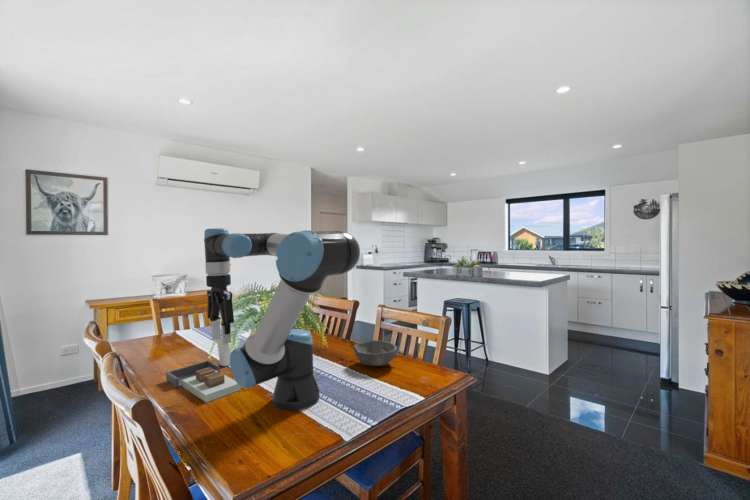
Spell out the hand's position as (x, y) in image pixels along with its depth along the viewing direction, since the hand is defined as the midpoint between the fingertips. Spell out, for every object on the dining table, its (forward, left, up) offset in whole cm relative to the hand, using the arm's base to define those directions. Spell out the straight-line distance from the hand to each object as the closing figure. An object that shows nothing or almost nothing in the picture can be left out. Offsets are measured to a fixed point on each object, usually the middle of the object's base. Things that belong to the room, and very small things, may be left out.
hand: (221, 341), depth 120 cm
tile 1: (+14, 0, -17) cm, 22 cm away
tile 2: (+7, 0, -17) cm, 18 cm away
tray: (+25, 0, -19) cm, 31 cm away
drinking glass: (+29, -15, -19) cm, 38 cm away
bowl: (-22, -54, -19) cm, 61 cm away
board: (+10, 0, -19) cm, 21 cm away
